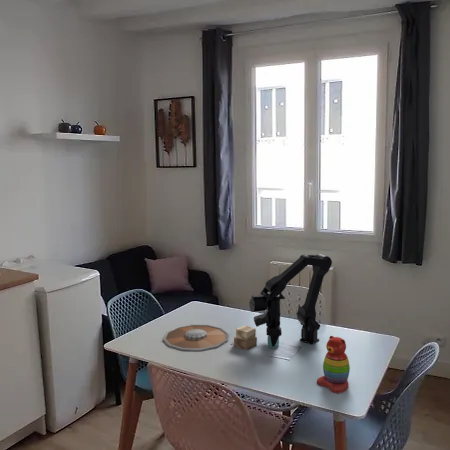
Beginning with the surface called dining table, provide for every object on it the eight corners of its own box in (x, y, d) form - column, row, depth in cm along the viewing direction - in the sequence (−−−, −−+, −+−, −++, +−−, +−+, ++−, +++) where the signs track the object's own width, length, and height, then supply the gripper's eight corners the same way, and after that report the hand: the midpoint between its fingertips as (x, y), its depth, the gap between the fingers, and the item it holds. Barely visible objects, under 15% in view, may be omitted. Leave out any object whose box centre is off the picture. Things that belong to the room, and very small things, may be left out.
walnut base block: (256, 346, 208) (256, 337, 208) (246, 350, 203) (246, 341, 203) (244, 341, 213) (244, 333, 212) (234, 346, 208) (234, 337, 207)
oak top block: (255, 337, 208) (255, 328, 207) (246, 341, 203) (246, 332, 203) (245, 333, 212) (245, 325, 211) (236, 337, 207) (236, 328, 207)
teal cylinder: (281, 345, 208) (281, 337, 207) (274, 349, 204) (274, 340, 204) (272, 342, 211) (272, 334, 211) (265, 346, 208) (265, 337, 207)
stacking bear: (314, 382, 174) (315, 336, 172) (333, 375, 180) (334, 330, 178) (336, 394, 166) (338, 346, 163) (356, 386, 171) (358, 339, 169)
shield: (179, 317, 235) (237, 324, 226) (179, 323, 236) (237, 330, 226) (151, 340, 207) (215, 349, 198) (151, 347, 208) (216, 356, 198)
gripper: (255, 302, 215) (254, 335, 217) (254, 316, 196) (254, 352, 199) (279, 302, 214) (279, 335, 216) (281, 316, 196) (281, 352, 198)
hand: (273, 343), depth 207 cm, fingers closed on teal cylinder, 5 cm apart
